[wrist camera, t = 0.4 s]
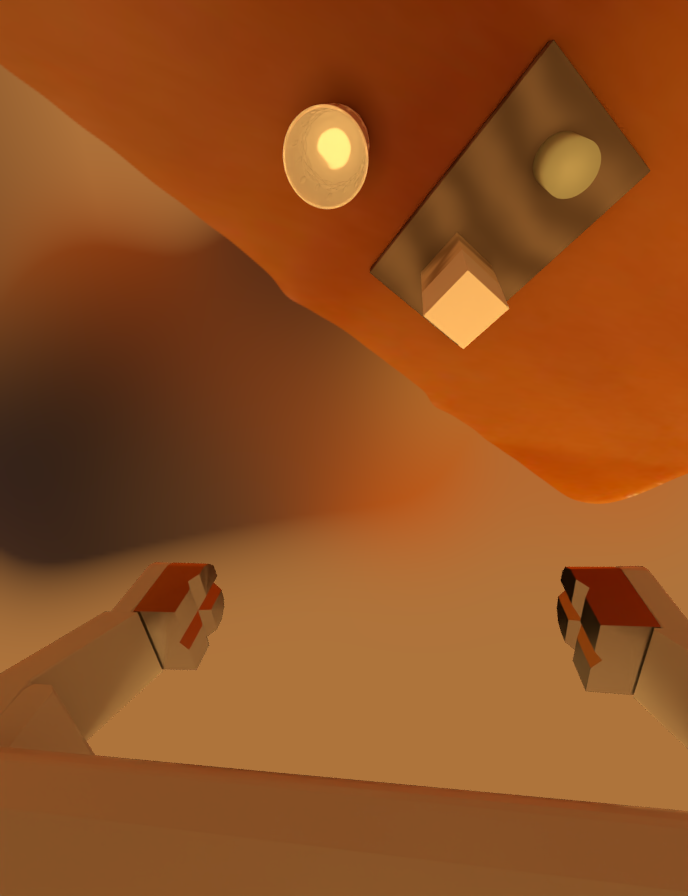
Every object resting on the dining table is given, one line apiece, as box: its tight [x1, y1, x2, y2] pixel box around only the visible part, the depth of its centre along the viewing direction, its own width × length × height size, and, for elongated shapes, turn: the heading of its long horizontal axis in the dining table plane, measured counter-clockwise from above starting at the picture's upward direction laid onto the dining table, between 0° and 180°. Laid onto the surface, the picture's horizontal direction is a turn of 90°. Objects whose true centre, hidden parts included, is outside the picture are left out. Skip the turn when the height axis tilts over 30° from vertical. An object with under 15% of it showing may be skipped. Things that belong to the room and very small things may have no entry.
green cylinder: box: [533, 131, 601, 199], centre depth 40 cm, size 5×5×5 cm
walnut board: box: [370, 40, 650, 345], centre depth 47 cm, size 26×16×2 cm, turn 144°
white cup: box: [283, 103, 370, 209], centre depth 41 cm, size 8×8×10 cm
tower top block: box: [422, 250, 509, 349], centre depth 44 cm, size 6×6×6 cm
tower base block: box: [421, 232, 499, 292], centre depth 48 cm, size 6×6×6 cm
